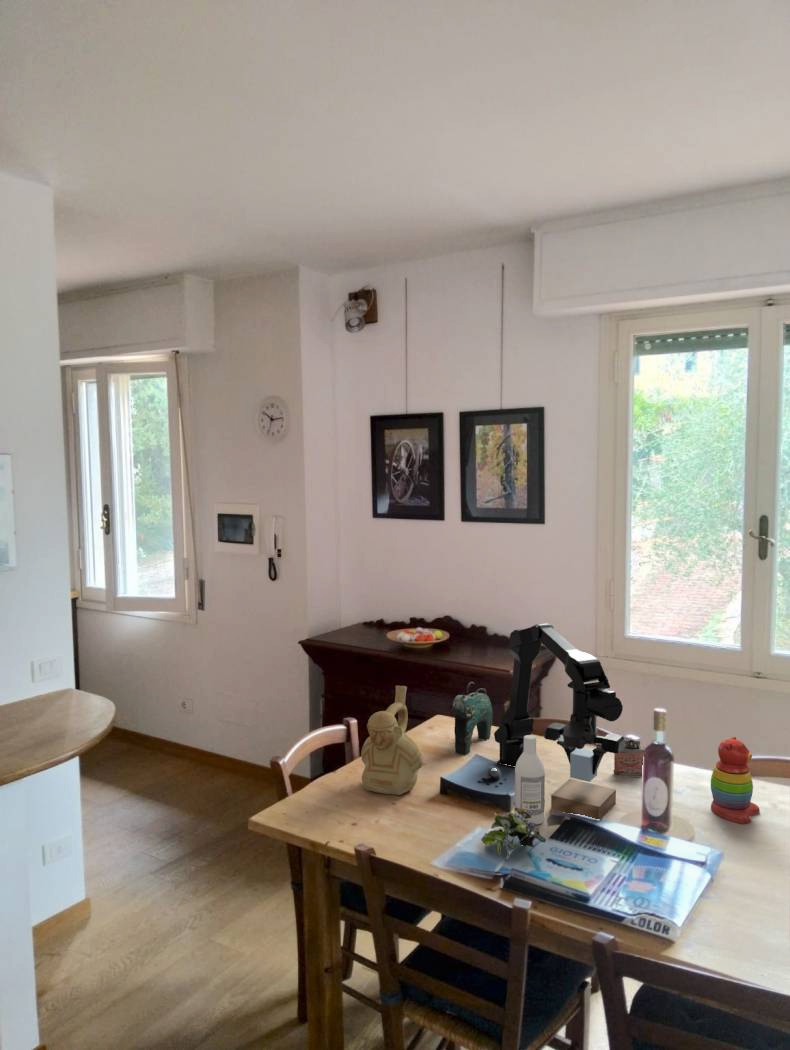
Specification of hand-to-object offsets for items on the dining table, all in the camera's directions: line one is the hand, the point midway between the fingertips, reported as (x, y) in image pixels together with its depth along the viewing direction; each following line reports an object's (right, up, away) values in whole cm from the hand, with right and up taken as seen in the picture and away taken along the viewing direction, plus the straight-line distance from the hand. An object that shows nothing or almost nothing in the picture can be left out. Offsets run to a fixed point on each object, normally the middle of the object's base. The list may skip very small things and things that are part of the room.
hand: (583, 771), depth 190 cm
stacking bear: (+35, -9, -3) cm, 36 cm away
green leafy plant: (-21, -11, -23) cm, 33 cm away
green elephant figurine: (-23, -6, +43) cm, 49 cm away
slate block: (0, -1, 0) cm, 1 cm away
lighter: (+17, -8, +20) cm, 28 cm away
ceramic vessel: (-47, -8, +13) cm, 49 cm away
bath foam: (-14, -10, -6) cm, 18 cm away
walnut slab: (0, -9, +1) cm, 9 cm away
